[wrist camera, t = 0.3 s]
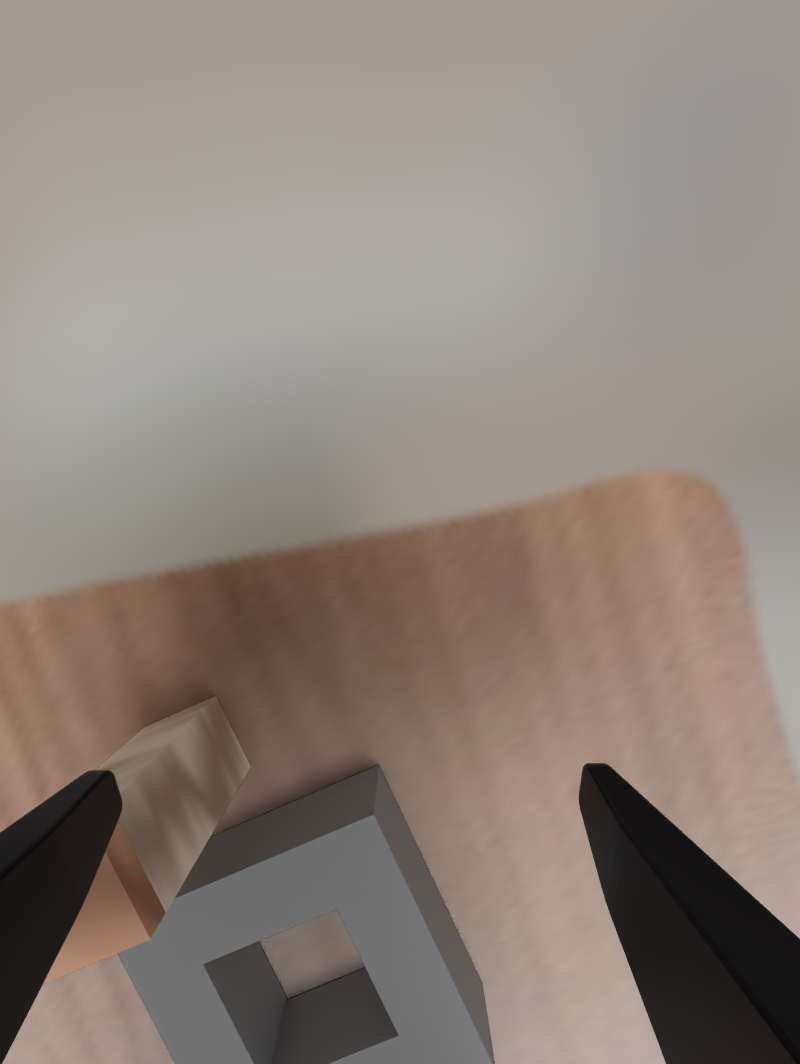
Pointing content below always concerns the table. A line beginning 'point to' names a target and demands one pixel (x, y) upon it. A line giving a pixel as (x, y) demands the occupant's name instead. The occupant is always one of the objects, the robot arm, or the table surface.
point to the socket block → (291, 899)
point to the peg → (155, 829)
